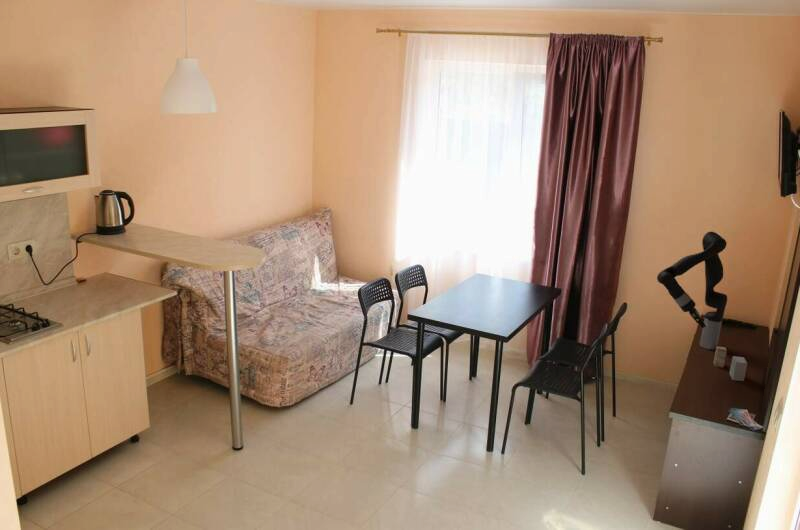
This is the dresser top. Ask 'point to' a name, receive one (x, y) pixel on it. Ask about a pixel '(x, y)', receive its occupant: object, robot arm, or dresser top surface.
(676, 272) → the robot arm
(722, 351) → the maple block
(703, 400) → the dresser top surface
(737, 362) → the small box
